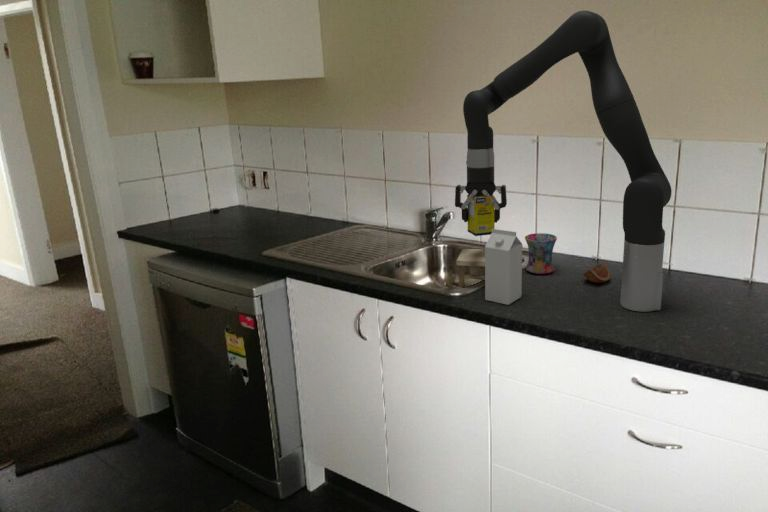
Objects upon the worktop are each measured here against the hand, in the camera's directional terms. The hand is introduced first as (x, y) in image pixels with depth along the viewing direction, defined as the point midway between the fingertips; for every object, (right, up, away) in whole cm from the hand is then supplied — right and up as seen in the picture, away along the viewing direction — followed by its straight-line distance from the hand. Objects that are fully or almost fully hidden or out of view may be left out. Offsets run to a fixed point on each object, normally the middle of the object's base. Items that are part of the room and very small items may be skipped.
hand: (480, 221), depth 182 cm
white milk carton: (+5, -21, -9) cm, 24 cm away
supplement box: (0, -3, +1) cm, 3 cm away
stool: (+1, -17, +5) cm, 18 cm away
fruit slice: (+33, -17, 0) cm, 37 cm away
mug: (+21, -14, +13) cm, 28 cm away
